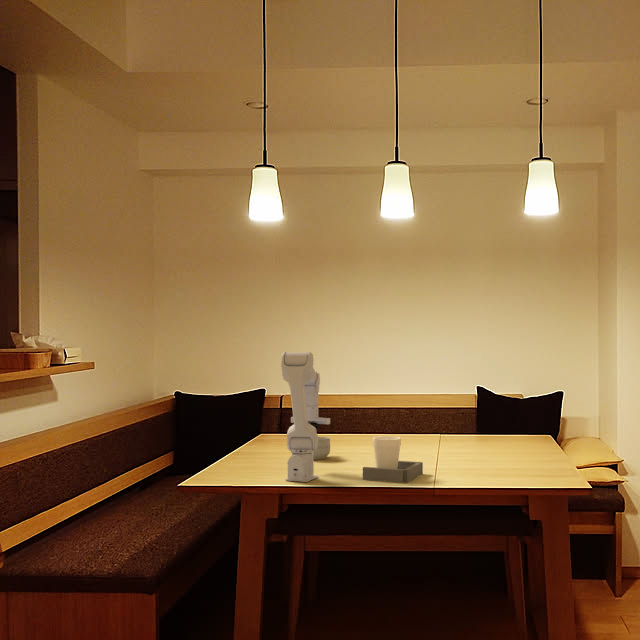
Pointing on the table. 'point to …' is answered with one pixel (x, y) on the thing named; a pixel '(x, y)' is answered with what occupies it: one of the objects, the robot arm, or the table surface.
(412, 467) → the bay
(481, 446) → the table surface
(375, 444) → the foam cup
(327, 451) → the teacup
